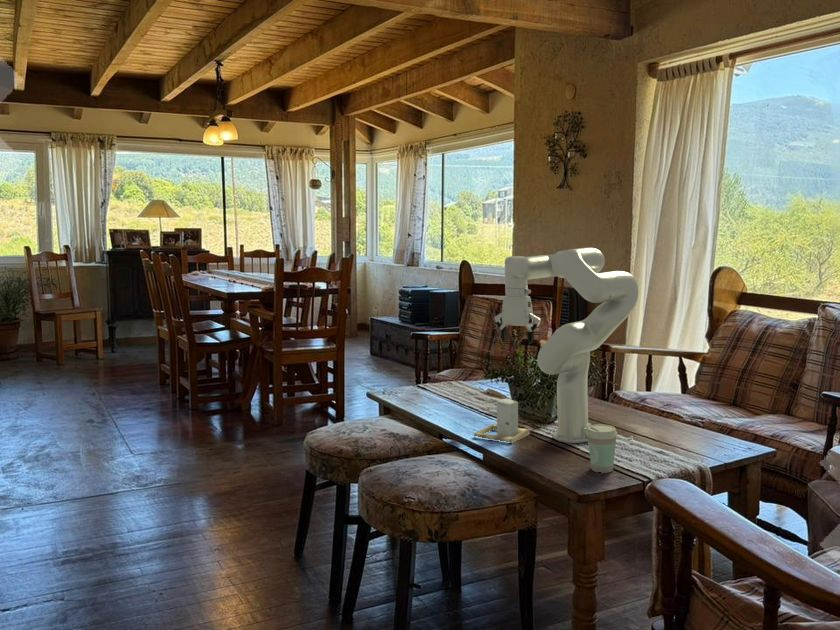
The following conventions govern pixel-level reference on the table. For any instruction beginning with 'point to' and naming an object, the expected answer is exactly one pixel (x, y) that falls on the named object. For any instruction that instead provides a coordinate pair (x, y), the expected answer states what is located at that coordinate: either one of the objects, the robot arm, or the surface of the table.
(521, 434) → the gold picture frame
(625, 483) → the table surface
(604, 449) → the coffee cup
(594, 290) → the robot arm
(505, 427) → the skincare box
